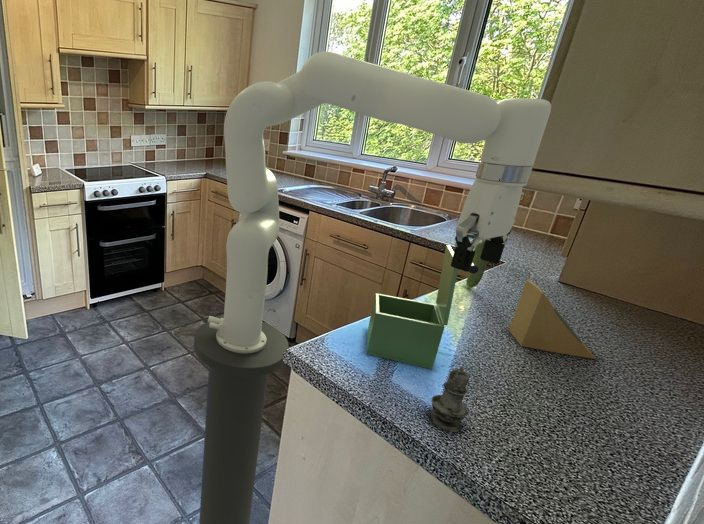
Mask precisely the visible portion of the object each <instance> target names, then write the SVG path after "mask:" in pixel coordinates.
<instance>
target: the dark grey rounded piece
mask: <svg viewBox="0 0 704 524" xmlns="http://www.w3.org/2000/svg"><path fill="white" fill-rule="evenodd" d="M469 380H470V375H469V374H468V373H467V372H466V371H465V369H464V367H463V366H460V367H459V369H458V368H454V369H452V370H451V371H450V372H449V375H448V378H447V381H446V382H444V383H443V388H444V389H443V392H442V394H436V395H433V396H432V397H431V399H430V400H431V401H430V402H431V407H432V410H431V411H430V412H429V413H428V419H429V420H430V422H431V423H432V424H433V425H434V426H436V427H437V428H439V429H441V430H443V431H446V432H451V433H457V432H460V431H461V429H462V424H461V421H463V420H464V419H465V418H466V417H468V415H469V409H468V407H467V406H466V405H465V404H464V403H463V399H464V397H465V395H467V394H468V390H467V386H468V383H469Z"/></svg>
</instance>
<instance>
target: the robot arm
mask: <svg viewBox="0 0 704 524" xmlns="http://www.w3.org/2000/svg"><path fill="white" fill-rule="evenodd" d="M324 104H328V105H331V106H334V107H337V108H340V109H344V110H347V111H350V112H353V113H357V114H359V115H363V116H366V117H369V118H373V119H376V120H378V121H381V122H387V123H394V124H397V125H403V126H405V127H409V128H412V129H415V130H419V131H421V132H426V133H429V134H432V135H435V136H438V137H442V138H444V139H448V140H450V141H454V142H456V143H461V144H475V143H479V142H482V141H484V145H483V148H482V152H481V155H480V158H479V162H478V166H477V169H476V172H475V177H474V181H473V183H472V185H471V187H470V189H469V191H468V194H467V196H466V198H465V201H464V203H463V206H462V210H461V212H460V215H459V218H458V222H457V225H456V228H455V237H454V240H455V243H454V247H455V248H454V250H453V251H454V255H453V259H452V262H451V266H452V267H454V268H457V269H460V270H459V271H463V272H466V273H469V271H470V269H471V265H472V262H473V259H474V255H475V252H476V251H474V249H475V247H476V245H477V244H478V243H479V242H481V241H482V240H485V239H489V240H485V244H484V247H483V250H482V253H481V257H480V258H481V259H482V260H485V261H488V263H492V264H495V265H497V264H498V265H499V263H500V261H501V259H502V255H503V252H504V249H505V246H506V244H507V242H508V240H509V238H508V237H509V235H510V234H511V233H512V228H513V226H514V225H515V223H516V221H517V219H516V217H517V214H518V209H519V207H520V202H521V198H522V193H523V187H527V186H528V182H529V179H530V177H531V175H532V170H533V168H534V165H535V161H536V158H537V155H538V153H539V152H538V151H539V150H540V145H541V143H542V139H543V137H544V134H545V131H546V127H547V124H548V121H549V118H550V115H551V111H552V104H551V102H550V101H549V100H547V99H542V98H528V97H527V98H521V97H519V98H518V97H517V98H516V97H515V98H514V97H513V98H504V99H502V100H501V99H500V100H499V99H494V98H491V97H490V96H488V95H486V94H482V93H479V92H476V91H473V90H468V89H465V88H461V87H458V86H454V85H450V84H446V83H443V82H440V81H436V80H431V79H427V78H424V77H420V76H417V75H413V74H410V73H408V72H405V71H401V70H397V69H394V68H389V67H386V66H382V65H379V64H375V63H371V62H368V61H364V60H361V59H358V58H354V57H350V56H348V55H347V56H346V55H344V54H339V53H335V52H331V51H319V52H316V53H314V54H312V55H311V56H309V58H307V59H306V61H305V62H304V63H303V65H302V67H301V69H300V70H299V71H297V72H295V73H293V74H292V75H290V76H288V77H285V78H283V79H282V80H280V81H277V82H273V81H268V80H267V81H266V80H265V81H264V80H263V81H259V82H255V83H253V84H250V85H249V86H247V87H246V88H244V89H243V90H242V91H240V92H239V93H238V94H236V96H235V97H234V99H233V100H232V101H231V103H230V105H229V106H228V108H227V111H226V113H225V118H224V122H223V140H224V151H225V153H224V154H225V171H226V173H225V174H226V185H227V188H226V189H227V199H228V202H229V204H230V206H231V207H232V209H233V210H235V211H236V212H238V213H240V217H241V219H240V220H239V221H237V222H236V223H235V224H234V225H233V226H232V227H231V229H230V230H229V233H228V234H227V238H226V245H225V246H226V247H225V249H226V250H225V251H226V279H225V280H226V281H225V283H226V285H225V294H224V295H225V296H224V309H223V317H224V318H221V317H216V316H213V315H212V316H211V315H209V316H208V318H207V321H208V323H210V324H209V328H213V329H218V331H217V333H216V340H217V342H218V343H219V344H220V345H221V346H222V347H223V348H225V349H227V350H229V351H232V352H235V353H243V354H247V353H255V352H258V351H260V350H262V349H263V348H264V347H265V345H266V335H265V334H264V333H263V332H262V331H261V328H262V321H263V320H264V309H265V300H266V293H267V292H266V291H267V281H268V270H269V268H268V265H269V262H268V261H269V252H270V249H271V248H272V246H273V245H274V243H275V242H276V240H277V239H278V236H279V234H280V204H279V187H278V181H277V178H276V176H275V174H274V173H273V172H272V171H271V170H270V169H269V168H268V167H266V166H267V165H266V146H265V140H264V133H265V130H266V128H267V127H272V126H279V125H281V124H285V123H286V122H289V121H291V120H293V119H295V118H297V117H299V116H301V115H304V114H305V113H308V112H309V111H313V110H314V109H316V108H318V107H320V106H322V105H324ZM499 178H500V181H499ZM470 239H472V240H470ZM219 318H221V319H219Z"/></svg>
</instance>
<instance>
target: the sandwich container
mask: <svg viewBox="0 0 704 524" xmlns="http://www.w3.org/2000/svg"><path fill="white" fill-rule="evenodd" d="M508 331H509V333H510V334H511V335H512V337H513V338H514V339H515V340H516V341H517V342H518V344H519V345H520V346H521V347H524V348H528V349H533V350H534V349H535V350H538V351H539V350H540V351H546V352H550V353H557V354H562V355H568V356H575V357H580V358H587V359H591V360H592V359H593V360H597V358H596V357H595V355H594V354H593V353H592V352H591V351H590V350H589V348H588V347H587V345H585V343H584V342H583V341H582V339H581V338H580V337H579V335H577V333H576V332H575V331H574V329H572V327H571V326H570V324H569V323H568V322H567V320H565V318H564V317H563V316H562V315H561V313H560V312H559V311H558V310H557V308H556V307H555V306H554V304H553V303H552V302H551V300H550V299H549V298H548V297H547V295H546V294H545V293H544V292H543V290H541V288H540V287H539V286H538V285H537V284H535V283H534V282H532V281H531V280H530V279H526V280H525V283H524V286H523V289H522V291H521V295H520V298H519V300H518V304H517V306H516V309H515V312H514V315H513V317H512V320H511V323H510V326H509V329H508Z"/></svg>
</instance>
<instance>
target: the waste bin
mask: <svg viewBox="0 0 704 524" xmlns="http://www.w3.org/2000/svg"><path fill="white" fill-rule="evenodd" d="M444 331H445V325H443V323H442V320H441V317H440V314H439V310H438V307H437V304H436V303H430V302H427V301H426V302H425V301H420V300H415V299H408V298H403V297H398V296H393V295H388V294H383V293H378V292H375V294H374V298H373V303H372V307H371V312H370V317H369V321H368V326H367V332H366V333H367V335H366V355H370V356H374V357H377V358H383V359H386V360H390V361H395V362H399V363H404V364H407V365H412V366H416V367H420V368H425V369H428V370H433V368H434V365H435V362H436V358H437V355H438V351H439V347H440V344H441V341H442V337H443V334H444Z"/></svg>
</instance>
